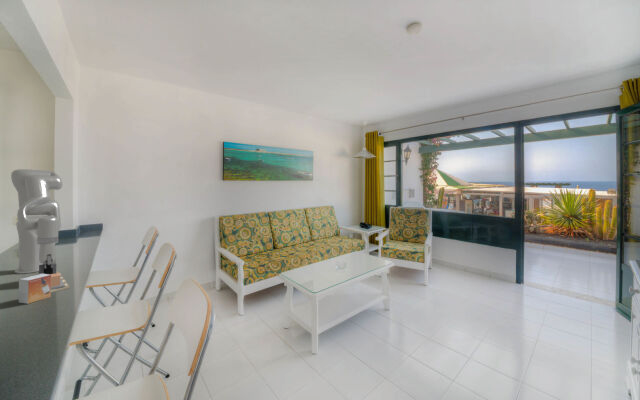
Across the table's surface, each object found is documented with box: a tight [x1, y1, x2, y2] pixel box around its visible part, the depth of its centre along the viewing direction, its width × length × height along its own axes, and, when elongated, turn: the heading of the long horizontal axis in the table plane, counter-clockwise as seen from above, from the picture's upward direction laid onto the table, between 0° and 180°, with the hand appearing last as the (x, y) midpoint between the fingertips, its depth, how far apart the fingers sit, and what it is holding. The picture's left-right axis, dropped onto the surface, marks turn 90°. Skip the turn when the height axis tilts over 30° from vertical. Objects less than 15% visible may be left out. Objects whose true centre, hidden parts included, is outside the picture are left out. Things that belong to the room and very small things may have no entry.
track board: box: [29, 271, 70, 293], centre depth 128 cm, size 33×11×1 cm, turn 53°
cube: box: [50, 273, 60, 287], centre depth 121 cm, size 5×5×5 cm
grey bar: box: [38, 262, 65, 289], centre depth 125 cm, size 22×8×8 cm, turn 53°
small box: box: [18, 273, 52, 305], centre depth 110 cm, size 8×6×10 cm
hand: (47, 274), depth 131 cm, fingers open, 3 cm apart
